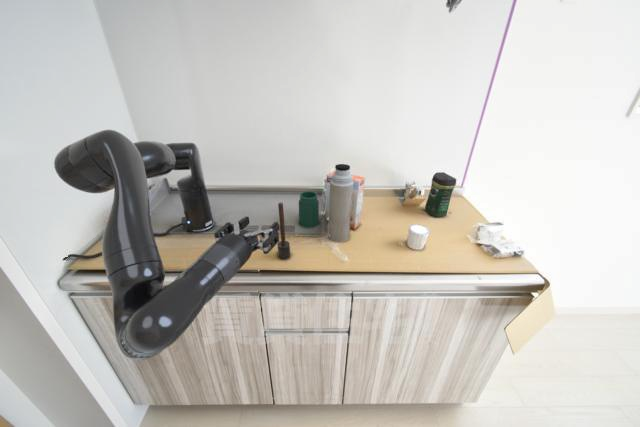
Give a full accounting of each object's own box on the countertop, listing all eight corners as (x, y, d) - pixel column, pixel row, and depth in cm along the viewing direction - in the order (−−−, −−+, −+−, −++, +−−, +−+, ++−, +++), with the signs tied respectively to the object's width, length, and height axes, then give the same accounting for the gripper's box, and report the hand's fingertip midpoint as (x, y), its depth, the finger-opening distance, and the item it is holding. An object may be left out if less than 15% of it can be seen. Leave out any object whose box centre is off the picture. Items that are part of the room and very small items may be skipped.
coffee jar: (449, 217, 107) (461, 178, 98) (432, 218, 106) (444, 178, 97) (437, 207, 116) (447, 170, 107) (421, 208, 114) (430, 171, 106)
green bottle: (304, 229, 97) (303, 200, 90) (296, 220, 103) (295, 192, 96) (321, 225, 100) (322, 196, 94) (313, 216, 106) (313, 189, 100)
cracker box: (360, 223, 101) (365, 176, 91) (354, 230, 97) (359, 181, 87) (331, 214, 108) (333, 169, 98) (324, 220, 103) (326, 174, 93)
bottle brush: (280, 261, 79) (276, 207, 70) (276, 254, 83) (272, 202, 73) (292, 257, 81) (289, 204, 72) (287, 251, 84) (284, 199, 75)
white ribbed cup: (424, 242, 90) (429, 226, 87) (425, 252, 85) (430, 236, 81) (405, 238, 92) (409, 222, 89) (405, 248, 86) (408, 232, 83)
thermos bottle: (349, 231, 96) (355, 163, 82) (347, 243, 89) (354, 170, 75) (330, 229, 97) (332, 161, 84) (326, 240, 90) (329, 168, 77)
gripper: (251, 252, 46) (286, 213, 59) (190, 238, 49) (236, 205, 63) (256, 281, 49) (288, 238, 63) (198, 267, 53) (240, 229, 67)
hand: (262, 222), depth 63 cm, fingers open, 8 cm apart
